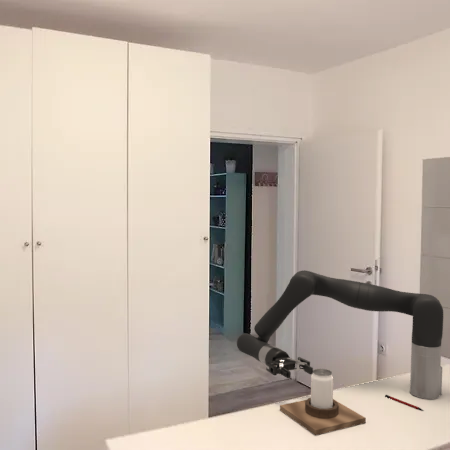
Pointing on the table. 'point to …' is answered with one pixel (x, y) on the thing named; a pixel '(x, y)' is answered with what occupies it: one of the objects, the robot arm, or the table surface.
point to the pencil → (404, 402)
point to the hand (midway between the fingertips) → (300, 373)
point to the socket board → (322, 423)
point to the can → (322, 389)
